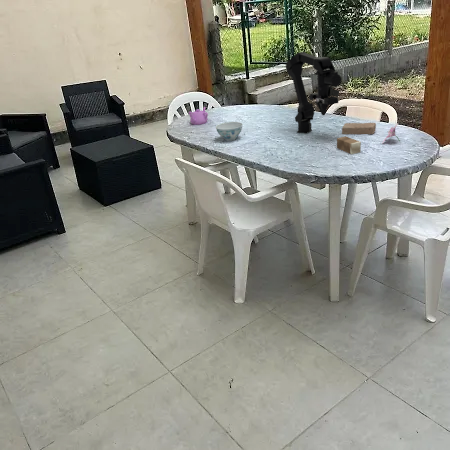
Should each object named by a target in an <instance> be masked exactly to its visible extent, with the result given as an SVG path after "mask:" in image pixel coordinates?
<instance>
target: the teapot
mask: <svg viewBox="0 0 450 450" xmlns="http://www.w3.org/2000/svg"><path fill="white" fill-rule="evenodd" d="M188 116H189V117H190V120H189V121H190V124H191V125H193V126H195V125H196V126H201V125H204V124H207V122H208V121H209V120H208V116H209V113H208V112H206V106H204V107H203V109H202V110H200V109H199V108H198V109H195V110H194V111H193V112H192V111H188Z"/></svg>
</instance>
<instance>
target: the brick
mask: <svg viewBox="0 0 450 450" xmlns="http://www.w3.org/2000/svg"><path fill="white" fill-rule="evenodd" d="M376 129H377V123H376V122H364V123H362V122H352V123H351V122H346V123H344V124H343V125H342V127H341V135H361V134H368V135H373V134H375V132H376Z"/></svg>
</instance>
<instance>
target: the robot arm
mask: <svg viewBox="0 0 450 450" xmlns="http://www.w3.org/2000/svg"><path fill="white" fill-rule="evenodd" d="M305 64H307V65H309V66H312V67H313V69H314V70H315V71H316V72H314V75H316V76H317V86H315V90H317V92H314V93H310V94H309V97H307V93H306V89H305V85H304V81H303V77H302V73H303V69H304V67H303V65H305ZM285 69H286V72H287V74H288V75H289V76H290V78H291V79H292V82H293V83H292V84H293V86H294V90H295V94H296V99H297V102H298V107H297V113H296V116H294V120H295V123H296V122H297V131H296V133H299V134H308V133H309V132H311V131H313V129H312V123H311V121H312V120H314V116H315V108H314V104H313V103H312V102H309V100H311V101H313V100H314V99H315V101H314V103H315V105H316V106H317V108H318V110H319V111H320V114H321V115H322V116H325V115H326V113H327V109H328V107H329V106H331V105H335V104H339V98H338V97H339V95H340V92H341V91H340V90H338V89H334V88H333V87H335V88H337V87H339V85H341V83H342V77H341V75H340V74H339V71H336V69H335V66H334V65H333V62H332V60H331V58H330V57H328V56H323V57H322V56H321V57H320V56H319V57H318V56H315V55H313V54H309V53H306V52H305V51H301V52H297V53H296V54H295V55H294V56H293V57H292V58H291V57H290V59H289V60H288V61H287V62H286V64H285ZM308 99H309V100H308Z"/></svg>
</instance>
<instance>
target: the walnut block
mask: <svg viewBox="0 0 450 450" xmlns="http://www.w3.org/2000/svg"><path fill="white" fill-rule="evenodd" d="M361 143H362V141H360V140H357V139H353V137H352V138H351V137H349V136H346V135H345V136H340V137H337V138H336V149H338V150H340V151H342V150H343V152H345V153H347V154H350V155H354V154H359V153H361V149H362V144H361Z"/></svg>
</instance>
